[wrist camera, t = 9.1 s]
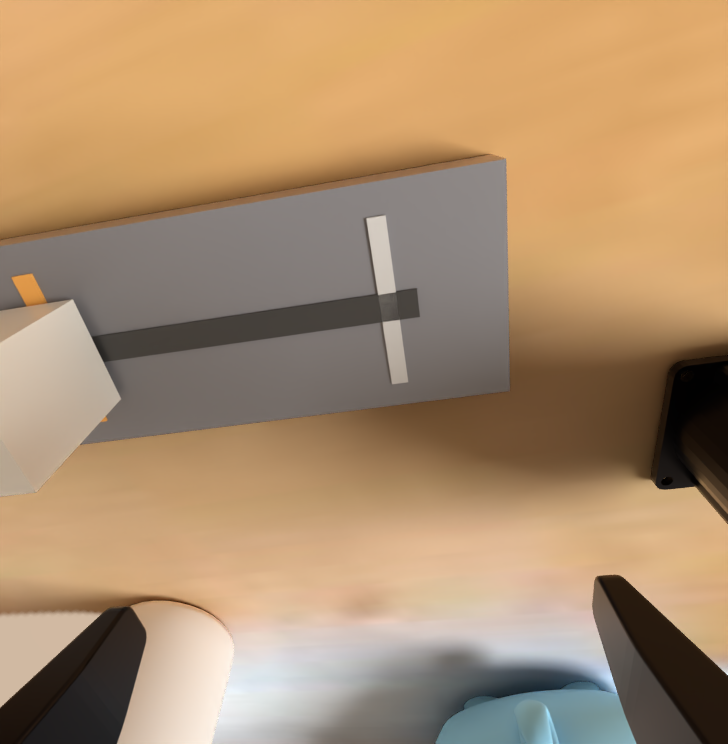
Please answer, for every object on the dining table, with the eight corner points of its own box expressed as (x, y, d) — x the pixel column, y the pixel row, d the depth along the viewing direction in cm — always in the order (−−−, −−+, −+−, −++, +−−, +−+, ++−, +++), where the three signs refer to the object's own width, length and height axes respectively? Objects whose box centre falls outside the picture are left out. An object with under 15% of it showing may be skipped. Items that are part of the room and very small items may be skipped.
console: (497, 365, 19) (510, 392, 17) (-31, 434, 21) (-69, 464, 20) (490, 154, 15) (506, 159, 13) (-149, 265, 18) (-210, 282, 16)
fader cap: (121, 398, 18) (36, 492, 13) (47, 408, 18) (-59, 503, 13) (72, 299, 16) (-46, 369, 11) (-9, 312, 16) (-154, 385, 12)
